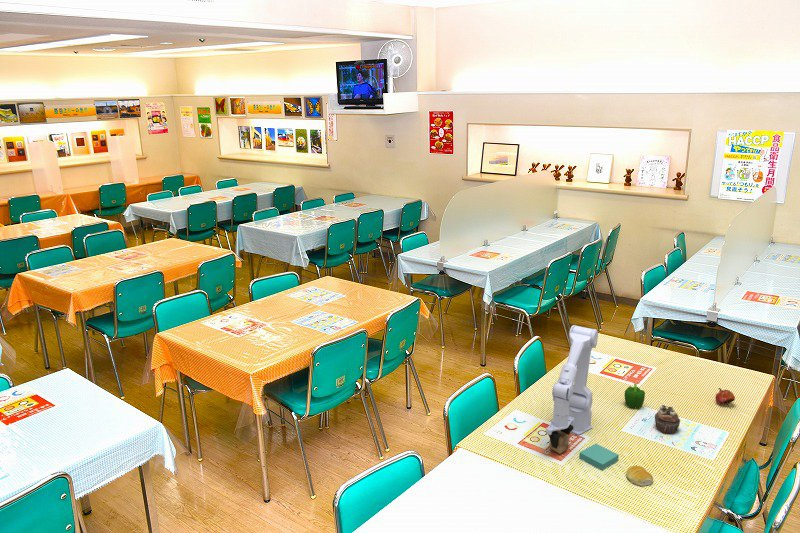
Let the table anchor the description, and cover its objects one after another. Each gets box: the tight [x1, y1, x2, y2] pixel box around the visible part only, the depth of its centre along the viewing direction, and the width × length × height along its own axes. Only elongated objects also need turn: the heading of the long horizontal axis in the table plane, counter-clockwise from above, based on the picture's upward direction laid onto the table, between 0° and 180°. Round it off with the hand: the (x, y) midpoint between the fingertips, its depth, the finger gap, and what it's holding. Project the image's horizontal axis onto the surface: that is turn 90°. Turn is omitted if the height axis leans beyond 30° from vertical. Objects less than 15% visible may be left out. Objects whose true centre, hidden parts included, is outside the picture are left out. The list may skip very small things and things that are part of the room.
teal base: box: [578, 443, 620, 471], centre depth 229 cm, size 10×10×3 cm
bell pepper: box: [624, 382, 646, 409], centre depth 267 cm, size 8×8×10 cm
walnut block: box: [548, 430, 570, 454], centre depth 234 cm, size 5×5×6 cm
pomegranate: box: [714, 387, 736, 410], centre depth 268 cm, size 7×7×10 cm
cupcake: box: [654, 404, 681, 435], centre depth 248 cm, size 10×10×10 cm
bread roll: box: [625, 465, 654, 487], centre depth 217 cm, size 8×9×4 cm
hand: (559, 444), depth 234 cm, fingers closed on walnut block, 5 cm apart
